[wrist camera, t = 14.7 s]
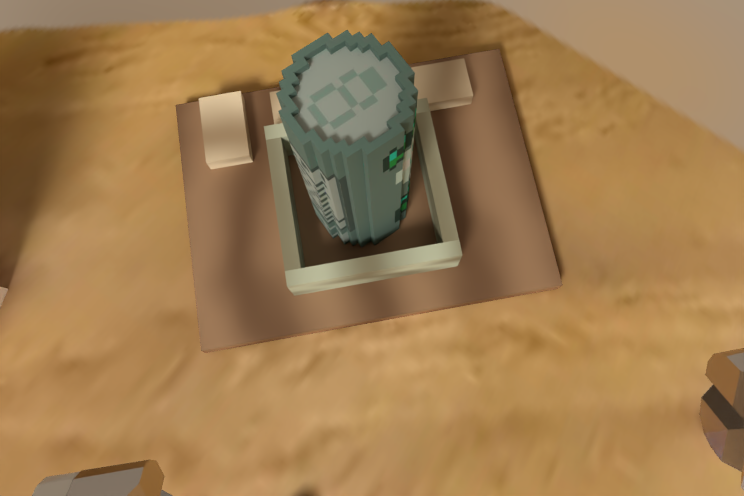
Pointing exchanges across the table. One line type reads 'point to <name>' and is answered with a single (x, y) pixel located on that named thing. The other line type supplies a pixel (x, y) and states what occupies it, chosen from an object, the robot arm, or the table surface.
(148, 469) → the robot arm
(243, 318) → the jig
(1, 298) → the milk
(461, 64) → the bar
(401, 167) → the can
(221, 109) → the block
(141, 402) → the table surface
